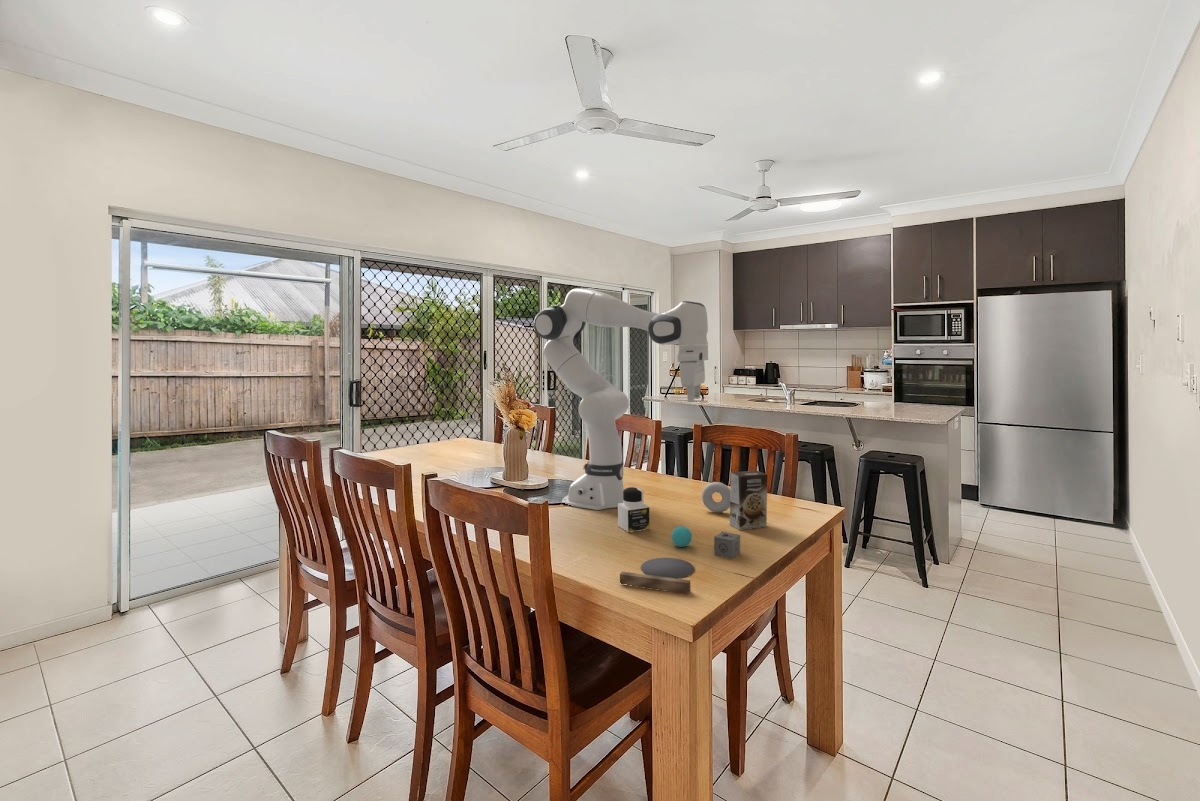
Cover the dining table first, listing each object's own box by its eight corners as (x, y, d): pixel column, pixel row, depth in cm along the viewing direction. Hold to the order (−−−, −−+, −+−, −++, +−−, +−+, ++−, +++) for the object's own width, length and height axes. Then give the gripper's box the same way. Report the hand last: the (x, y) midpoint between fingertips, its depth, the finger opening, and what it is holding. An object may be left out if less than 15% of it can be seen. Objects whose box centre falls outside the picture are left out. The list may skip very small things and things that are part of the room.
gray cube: (722, 549, 154) (722, 531, 154) (740, 553, 151) (740, 534, 151) (714, 555, 150) (714, 536, 150) (732, 559, 147) (732, 540, 147)
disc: (634, 575, 138) (634, 574, 138) (649, 555, 150) (649, 555, 150) (688, 582, 134) (688, 581, 134) (698, 561, 146) (698, 560, 146)
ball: (669, 548, 155) (669, 528, 155) (674, 541, 161) (674, 522, 160) (689, 550, 153) (689, 530, 153) (693, 544, 159) (693, 524, 158)
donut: (733, 512, 187) (733, 482, 186) (731, 515, 184) (731, 484, 182) (703, 509, 191) (703, 479, 190) (700, 512, 188) (700, 481, 187)
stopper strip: (619, 584, 133) (619, 574, 133) (622, 581, 134) (621, 571, 134) (688, 594, 127) (688, 583, 127) (690, 591, 129) (690, 580, 129)
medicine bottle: (628, 533, 169) (627, 492, 167) (617, 526, 175) (617, 487, 174) (649, 529, 171) (649, 489, 170) (638, 523, 178) (638, 484, 177)
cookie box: (739, 530, 169) (740, 476, 167) (729, 524, 175) (729, 471, 173) (767, 527, 171) (768, 474, 170) (756, 521, 177) (756, 469, 176)
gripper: (689, 354, 188) (690, 396, 189) (676, 355, 168) (676, 403, 170) (709, 353, 185) (709, 396, 187) (697, 355, 166) (698, 403, 168)
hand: (693, 399), depth 178 cm, fingers open, 8 cm apart
